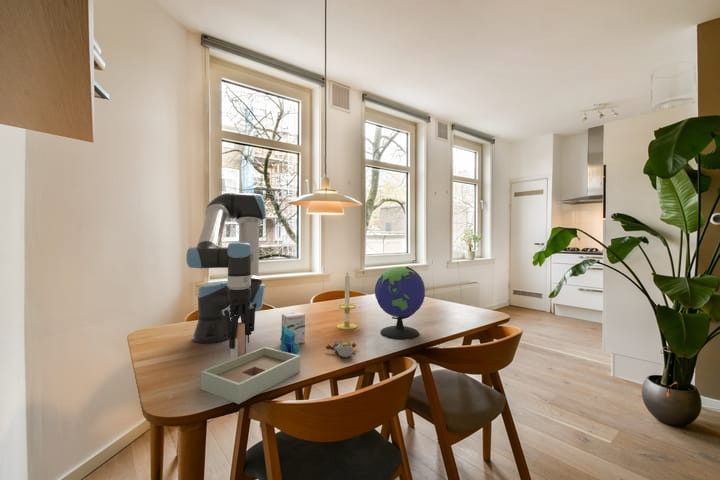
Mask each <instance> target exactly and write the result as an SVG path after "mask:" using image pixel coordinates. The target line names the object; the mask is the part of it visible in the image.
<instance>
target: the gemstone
mask: <svg viewBox="0 0 720 480" xmlns="http://www.w3.org/2000/svg"><path fill="white" fill-rule="evenodd" d="M295 335H296V334H295V333H294V332H292V331H291V330H290V329H288V328H287V327H285V326H284V325H283V329H282V328H281V335H280V342H282V343H281V345H280V351H284V352H288V353H292V354H296V355H300V354H299V352H300V345H299V344H300V343H299V344H295V343H294V340H295Z"/></svg>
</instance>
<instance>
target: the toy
mask: <svg viewBox="0 0 720 480" xmlns="http://www.w3.org/2000/svg"><path fill="white" fill-rule="evenodd" d="M356 346H357V343H355V342H353V343H350V342H345V341H344V342H342V339H339V341H338V340H336V339H334V344H333V346H331V345H330V344H327V345H326V346H325V349H326V350H330V353H331V352H332V353H333V352H334V353H337V354H338V355H339V356H340V357H341V358H349V357H350V356H351V355H356V354H357V353H356V351H353V350H354V348H356Z"/></svg>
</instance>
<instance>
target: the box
mask: <svg viewBox="0 0 720 480" xmlns="http://www.w3.org/2000/svg"><path fill="white" fill-rule="evenodd" d="M298 373H301V355H300V354H299V355H296V354H292V353H288V352H284V351H281V349H280V350H278V349H275V348H271V347H268V346H263V347H261V348H259V349H255V350H253V351H250V352H248V354H245V355H242V356H240V357H237V358H235V359H234V358H232V359H230V360H227V361H224V362H222V363H218V364H217V365H214V366H212V367H211V366H210V367H209V368H206V369H204V370H200V390H202V391H204V392H206V393H210V394H212V395H214V396H217V397H219V398H222V399H224V400H227V401H230V402H232V403H235V404H238V405H240V404H241V403H243V402H246V401H247V400H250V399H251V398H253V397H255V396H257V395H259V394H260V393H262V392H264V391H266V390H267V389H270V388H272V387H274V386H276V385H278V384H279V383H281V382H283V381H285V380H287V379H288V378H290V377H293V376H295V374H296V375H297V374H298Z"/></svg>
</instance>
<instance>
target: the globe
mask: <svg viewBox="0 0 720 480" xmlns="http://www.w3.org/2000/svg"><path fill="white" fill-rule="evenodd" d="M374 286H375V288H374V295H375V298H376V301H377V304H378V305H379V307H380V308H381V309H382V311H383V312H385V314H388V315H389V316H391V319H394V320H396V324H395V325H391V326H387V327H384V328H382V329H381V330H380V333H379V334H380V335H381V336H382V337H384V338H386V339H390V340H399V341H407V340H406V339H409V340H414V338H415V339H416V338H419V337H420V332H419V330H417V329H415V328H414V327H409V326H406V325H404V321H403V320H405V319H408V318H410V317H411V316H413V315H414V314H415V313H416V312H418V311H419V309H421V307H422V305H423V303H424V302H425V296H426V289H425V284H424V280H423V279H422V277H421V275H419V273H417V272H416V271H415V270H414V269H412V268H411V267H408V266H405V267H403V266H396V267H392V268H389V269H387V270H385V271H384V272H383V273H382V274H381V275H379V277H378V279H377V281H376V283H375V285H374ZM418 336H419V337H418Z"/></svg>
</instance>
